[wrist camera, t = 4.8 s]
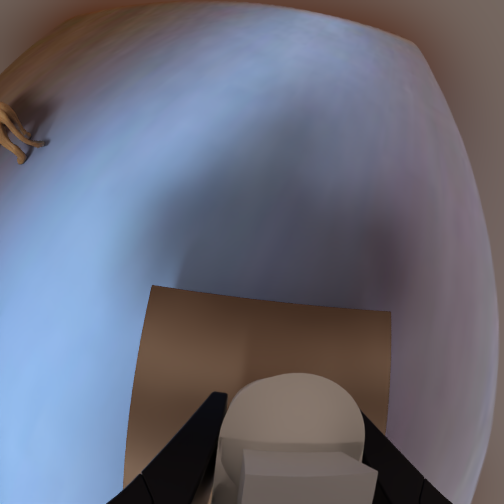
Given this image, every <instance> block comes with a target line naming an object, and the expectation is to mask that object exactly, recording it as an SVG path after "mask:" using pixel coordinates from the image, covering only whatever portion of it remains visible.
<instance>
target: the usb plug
mask: <svg viewBox="0 0 504 504" xmlns="http://www.w3.org/2000/svg"><path fill="white" fill-rule="evenodd" d="M364 441H365V427H364V421H363V417H362V414H361V412H360V409H359V407H358V405H357V404H356V402H355V401H354V399H353V398H352V397H351V395H350V394H349V393H348V392H347V391H346V390H345V389H343V388H342V387H341V386H339V385H338V384H337V383H335V382H333V381H331V380H329V379H327V378H324V377H322V376H318V375H314V374H307V373H288V374H282V375H277V376H273V377H269V378H264V379H260V380H256V381H253V382H251V383H249V384H247V385H246V386H244V387H243V388H242V389H241V390H239V391H238V393H237V394H236V395H235V396H234V398H233V399H232V401H231V403H230V406H229V408H228V411H227V413H226V415H225V418H224V420H223V423H222V426H221V429H220V434H219V441H218V449H217V457H216V465H215V474H214V482H213V491H212V499H211V504H372V501H373V496H374V491H375V486H376V481H377V475H378V471H376V470H374V469H372V468H371V467H369V466H367V465H365V464H363V463H362V456H363V449H364Z"/></svg>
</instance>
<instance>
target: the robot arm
mask: <svg viewBox="0 0 504 504" xmlns="http://www.w3.org/2000/svg"><path fill="white" fill-rule="evenodd" d="M227 402H228V394H227V393H224V392H217V391H214V392H212V393H211V394H210V395H209V396H208V398H207V399H206V400H205V401H204V402H203V403H202V405H201V406H200V407H199V408H198V409H197V410H196V412H195V413H194V414H193V415H192V416H191V417H190V419H189V420H188V421H187V422H186V423H185V424H184V425H183V427H182V428H181V429H180V430H179V431H178V432H177V433H176V434H175V436H174V437H173V438H172V439H171V440H170V441H169V442H168V443H167V444H166V445H165V447H164V448H163V449H162V450H161V451H160V452H159V453H158V454H157V455H156V456H155V457H154V459H153V460H152V461H151V462H150V463H149V464H148V465H147V466H146V467H145V468H144V469H143V470H142V471H141V473H142V474H138V475H137V476H136V477H135V478H134V479H133V480H132V482H131V483H129V484H128V485H127V486H126V487H125V488H124V489H123V490H122V491H121V492H120V493H119V494H118V495H117V496H115V497H114V498H113V499H111V500H110V501H109V502H108V503H106V504H208V501H209V498H210V494H211V491H212V488H213V482H214V474H215V465H216V457H217V449H218V441H219V434H220V429H221V426H222V423H223V420H224V418H225V415H226V413H227ZM359 409H360V408H359ZM360 412H361V414H362V417H363V421H364V427H365V441H364V449H363V456H362V463H363V464H365V465H367V466H369V467H371V468H372V469H374V470H376V471H378V475H377V481H376V486H375V491H374V496H373V501H372V504H453V503H451V502H450V501H449V500H448V499H447V498H445V497H444V496H443V495H442V494H441V493H440V492H439V491H438V490H437V489H436V488H435V487H434V486H433V485H432V484H431V483H430V482H429V481H428V480H427V479H424V476H423V475H422V474H421V473H420V472H419V471H418V470H417V469H416V468H415V467H414V466H413V465H412V464H411V463H410V462H409V461H408V460H407V459H406V458H405V456H404V455H403V454H402V453H401V452H400V451H399V450H398V449H397V448H396V447H395V446H394V445H393V444H392V443H391V442H390V441H389V440H388V439H387V437H386V436H385V435H384V434H383V433H382V432H381V431H380V430H379V429H378V428H377V427H376V426H375V425H374V424H373V422H372V421H371V420H370V419H369V418H368V417H367V416H366V415H365V414H364V413H363V412H362V411H361V409H360Z"/></svg>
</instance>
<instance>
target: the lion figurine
mask: <svg viewBox="0 0 504 504" xmlns="http://www.w3.org/2000/svg"><path fill="white" fill-rule="evenodd" d="M5 126H7V127H8V128H9V129H10V130H11V131H12V133H13V134H14V135H15V136H16V137H17V138H18V139H20V140H21V141H22V142H24V143H26V144H28V145H31V146H34V147H37V148H39V147H42V146H44V144H45V143H44V142H43V141H33V140H29V138H30V137H31V134H30V133H29V132H26V130H25V129H23V127H22V125H21V123H20V121H19V119H18V117H17V115H16V113H15V112H14V111H13V109H12V108H11V107H10V106H8V105H7V104H5V103H3V102H0V144H1V145H2V146H4V147H5V148H7V149H8V150H10V151H11V152H13V153H14V154H15V155H16V156H17V157H18V158H17V162H18V164H23V163H24V161H25V160H26V157H27V156H26V155H25V153H24V152H23V151H22V150H21V149H20V148H19V147H18V146H17V145H15V144H13V143H12V142H11V141H10V139H9V137H8V135H7V132H6V127H5Z"/></svg>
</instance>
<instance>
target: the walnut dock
mask: <svg viewBox="0 0 504 504" xmlns="http://www.w3.org/2000/svg"><path fill="white" fill-rule="evenodd" d="M390 367H391V312H388V311H374V310H360V309H347V308H335V307H324V306H313V305H303V304H293V303H284V302H275V301H266V300H257V299H249V298H240V297H232V296H225V295H217V294H210V293H202V292H195V291H188V290H181V289H175V288H168V287H161V286H155V285H152V287H151V291H150V296H149V301H148V305H147V310H146V315H145V320H144V325H143V330H142V335H141V341H140V346H139V352H138V358H137V364H136V370H135V376H134V383H133V390H132V397H131V404H130V412H129V421H128V430H127V440H126V451H125V464H124V479H123V489H124V488H125V487H126V486H127V485H128V484H129V483H131V482H132V480H133V479H134V478H135V477H136V476H137V475H138V474H142V473H141V471H142V470H143V469H144V468H145V467H146V466H147V465H148V464H149V463H150V462H151V461H152V460H153V459H154V457H155V456H156V455H157V454H158V453H159V452H160V451H161V450H162V449H163V448H164V447H165V445H166V444H167V443H168V442H169V441H170V440H171V439H172V438H173V437H174V436H175V434H176V433H177V432H178V431H179V430H180V429H181V428H182V427H183V425H184V424H185V423H186V422H187V421H188V420H189V419H190V417H191V416H192V415H193V414H194V413H195V412H196V410H197V409H198V408H199V407H200V406H201V405H202V403H203V402H204V401H205V400H206V399H207V398H208V396H209V395H210V394H211V393H212V392H214V391H217V392H224V393H227V394H228V402H227V411H228V408H229V406H230V403H231V401H232V399H233V398H234V396H235V395H236V394H237V393H238V391H239V390H241V389H242V388H243V387H244V386H246V385H247V384H249V383H251V382H253V381H256V380H260V379H264V378H269V377H273V376H277V375H282V374H288V373H307V374H314V375H318V376H322V377H324V378H327V379H329V380H331V381H333V382H335V383H337V384H338V385H339V386H341V387H342V388H343V389H345V390H346V391H347V392H348V393H349V394H350V395H351V397H352V398H353V399H354V401H355V402H356V404H357V405H358V407H359V408H360V409H361V411H362V412H363V413H364V414H365V415H366V416H367V417H368V418H369V419H370V420H371V421H372V422H373V424H374V425H375V426H376V427H377V428H378V429H379V430H380V431H381V432H382V433H383V434H384V435H385V432H386V423H387V413H388V401H389V387H390ZM212 491H213V488H212ZM212 491H211V494H210V498H209V501H208V504H211V499H212Z"/></svg>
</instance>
